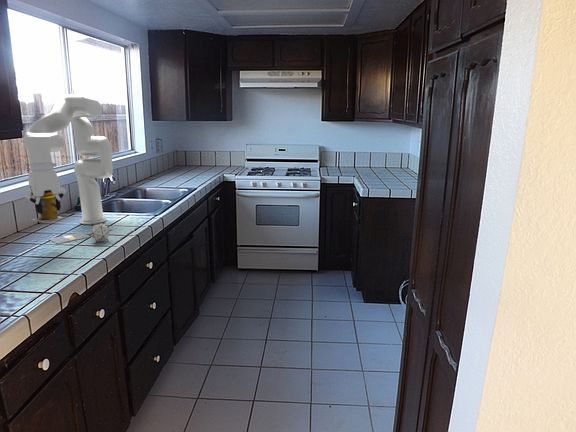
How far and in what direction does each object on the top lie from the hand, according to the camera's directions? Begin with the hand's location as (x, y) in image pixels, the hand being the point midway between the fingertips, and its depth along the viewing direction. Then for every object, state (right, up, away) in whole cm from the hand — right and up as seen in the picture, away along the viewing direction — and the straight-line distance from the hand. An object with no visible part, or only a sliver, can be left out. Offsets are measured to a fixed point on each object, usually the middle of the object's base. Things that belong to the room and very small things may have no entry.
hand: (48, 211), depth 170 cm
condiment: (-1, -3, 0) cm, 3 cm away
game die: (+16, -13, +11) cm, 24 cm away
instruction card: (0, -12, +16) cm, 20 cm away
